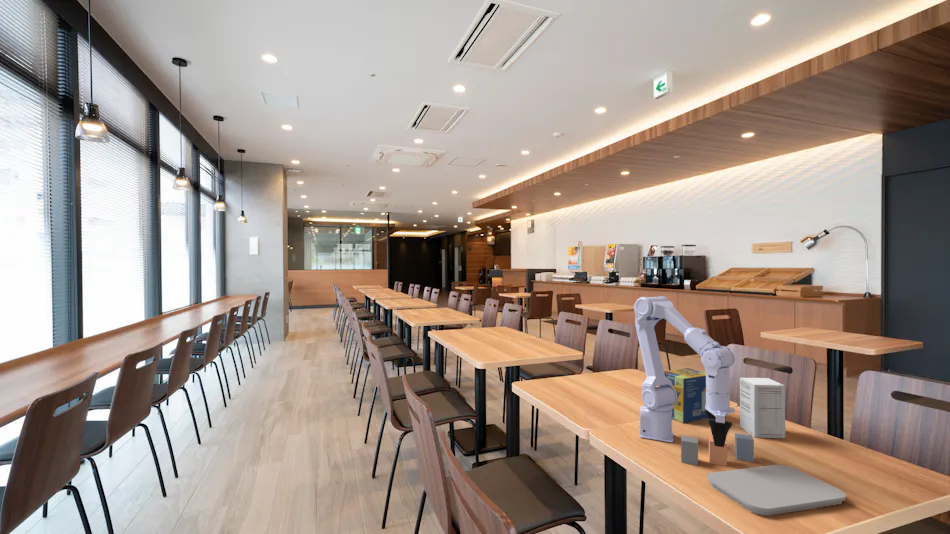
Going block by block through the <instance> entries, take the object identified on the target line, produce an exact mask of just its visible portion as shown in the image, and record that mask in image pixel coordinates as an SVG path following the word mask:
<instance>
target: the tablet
mask: <svg viewBox="0 0 950 534" xmlns="http://www.w3.org/2000/svg"><path fill="white" fill-rule="evenodd" d="M707 481H708V482H709V483H710V486H711V487H712V488H713V487H714V488H713V489H715V490H716V489H717V490H716V491H718V492H719V491H720V493H721V494H722V495H724V496H726V497H727V498H728V499H730V500H732V501H733V500H734V501H733V502H735V503H736V502H737V503H736V504H738V505H739V504H740V506H741V505H742V506H743V507H742V506H741V507H742V508H744V507H745V508H744V509H746V510H747V509H748V510H747V511H749V510H750V511H752V512H751V513H753V512H754V513H753V514H755V513H756V514H755V515H758V514H760V515H759V516H764V515H767V516H773V515H779V514H780V515H781V514H786V513H792V512H799V511H805V510H806V511H807V510H812V509H818V508H817V507H820V508H824V507H823V506H826V507H831V506H830V505H833V506H837V505H836V504H839V505H841V504H842V503H843V501H845V500H847V499H846V498H847V495H846V492H844V491H842V490H841V489H839V488H837V487H835V486H834V485H831V484H829V483H827V482H825V481H823V480H820V479H819V478H816V477H814V476H812V475H810V474H808V473H806V472H804V471H801V470H799V469H798V468H795V467H793V466H789V465H784V464H772V465H764V466H763V465H762V466H756V467H749V468H740V469H732V470H723V471H715V472H709V473H708V474H707ZM750 511H749V512H750Z"/></svg>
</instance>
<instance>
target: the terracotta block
mask: <svg viewBox="0 0 950 534" xmlns="http://www.w3.org/2000/svg"><path fill="white" fill-rule="evenodd" d="M727 453H728V443H727V440H726V441H725V445H724V447H719V446H715V444H714V440H713V435H711V436H710V435H709V436H708V461H709V464H712V465H717V466H723V467H727V466H728V465H727V464H728V459H727V458H728V457H727V456H728V455H727Z"/></svg>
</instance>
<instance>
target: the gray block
mask: <svg viewBox="0 0 950 534" xmlns="http://www.w3.org/2000/svg"><path fill="white" fill-rule="evenodd" d="M680 439H681V440H680V458H681V459H680V460H681V461H680V462H681V464H687V465H693V466H698V465H699V443H698V442H699V441H698V438H697V437H693V436H687V435H681V436H680Z"/></svg>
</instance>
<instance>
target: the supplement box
mask: <svg viewBox="0 0 950 534" xmlns="http://www.w3.org/2000/svg"><path fill="white" fill-rule="evenodd" d="M739 427H740V428H741V429H742V428H743V429H742V430H744V431H745V432H746V433H748V435H752V438H756V439H757V438H762V439H786V386H785V384H782V383H780V382H777V380H773V379H771V378H769V377H739Z"/></svg>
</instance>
